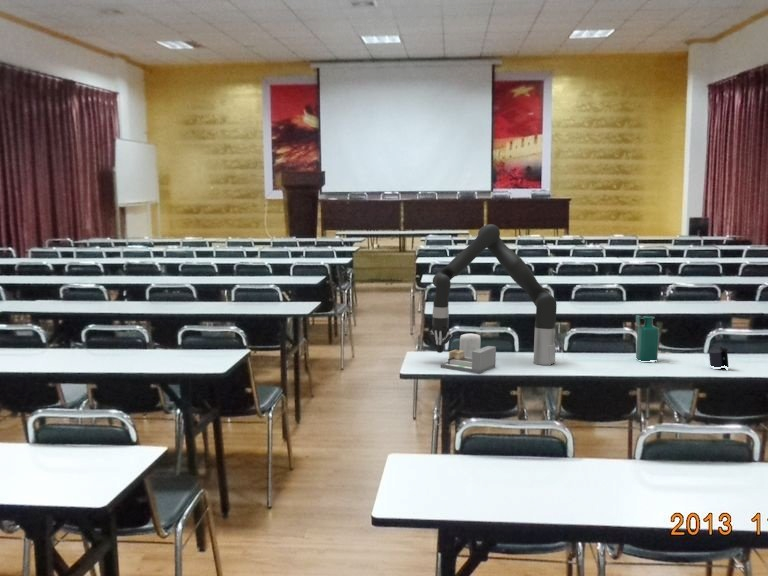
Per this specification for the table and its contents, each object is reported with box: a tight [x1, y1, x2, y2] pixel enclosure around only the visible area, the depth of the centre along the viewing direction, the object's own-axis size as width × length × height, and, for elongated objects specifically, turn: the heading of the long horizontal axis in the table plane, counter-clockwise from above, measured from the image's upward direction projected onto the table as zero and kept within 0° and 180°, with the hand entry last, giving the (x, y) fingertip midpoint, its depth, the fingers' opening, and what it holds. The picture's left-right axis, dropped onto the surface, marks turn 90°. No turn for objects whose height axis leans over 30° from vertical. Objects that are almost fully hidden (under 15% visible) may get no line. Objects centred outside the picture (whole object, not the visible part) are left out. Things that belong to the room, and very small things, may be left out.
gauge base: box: [440, 345, 497, 375], centre depth 326 cm, size 20×16×10 cm
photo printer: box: [459, 333, 481, 358], centre depth 344 cm, size 10×4×12 cm, turn 98°
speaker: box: [708, 346, 729, 367], centre depth 328 cm, size 8×6×10 cm
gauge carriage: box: [447, 349, 465, 364], centre depth 327 cm, size 5×11×5 cm, turn 146°
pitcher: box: [635, 314, 660, 361], centre depth 343 cm, size 10×8×22 cm
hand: (439, 352), depth 334 cm, fingers closed
